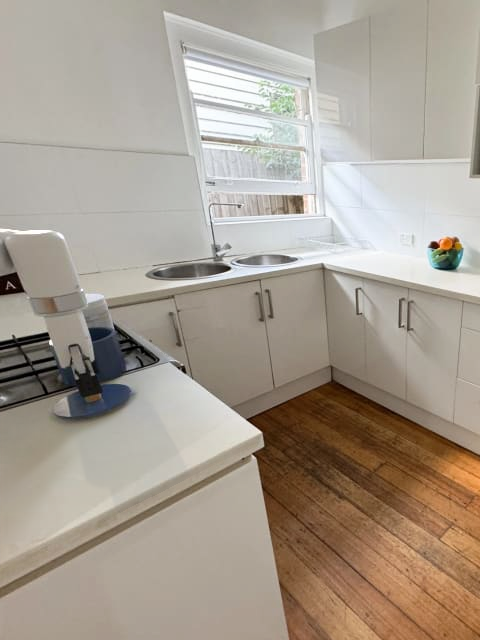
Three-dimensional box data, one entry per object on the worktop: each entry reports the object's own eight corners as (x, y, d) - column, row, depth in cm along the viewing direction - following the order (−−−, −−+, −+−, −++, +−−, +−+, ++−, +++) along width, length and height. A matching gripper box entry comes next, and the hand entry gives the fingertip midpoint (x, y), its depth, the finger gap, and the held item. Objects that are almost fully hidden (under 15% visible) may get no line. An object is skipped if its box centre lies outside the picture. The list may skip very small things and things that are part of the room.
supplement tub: (72, 352, 98) (52, 297, 92) (117, 342, 104) (101, 290, 98) (75, 365, 91) (54, 307, 85) (123, 354, 97) (106, 299, 91)
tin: (64, 392, 81) (48, 351, 77) (63, 371, 88) (49, 334, 85) (129, 376, 87) (117, 338, 84) (123, 358, 95) (112, 323, 91)
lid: (54, 429, 69) (41, 398, 66) (54, 400, 78) (43, 372, 75) (136, 406, 76) (127, 377, 74) (128, 382, 85) (120, 355, 82)
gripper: (33, 295, 72) (65, 374, 79) (28, 319, 60) (66, 410, 67) (84, 288, 77) (110, 363, 84) (88, 310, 65) (119, 396, 72)
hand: (91, 384), depth 75 cm, fingers open, 9 cm apart
